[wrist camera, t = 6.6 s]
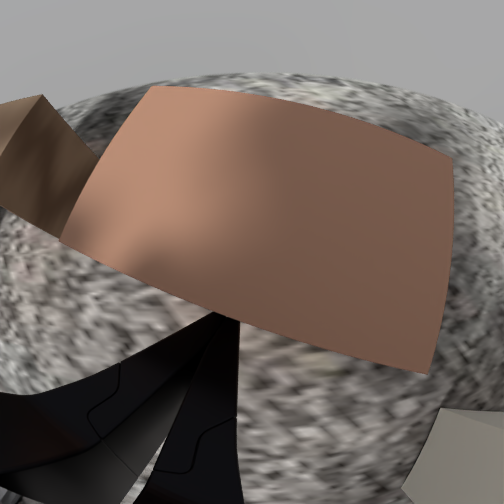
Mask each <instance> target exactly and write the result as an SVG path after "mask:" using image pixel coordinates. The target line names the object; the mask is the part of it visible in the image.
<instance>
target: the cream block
mask: <svg viewBox="0 0 504 504" xmlns="http://www.w3.org/2000/svg"><path fill="white" fill-rule="evenodd" d="M401 489H402V490H403V491H404V492H405V494H406V495H407V496H408V497H409V498H410V499H411V500H412V502H413V503H414V504H504V412H493V411H472V410H459V409H448V408H440V410H439V413H438V415H437V418H436V420H435V423H434V425H433V427H432V430H431V432H430V434H429V436H428V439H427V441H426V443H425V445H424V447H423V449H422V451H421V453H420V455H419V457H418V459H417V461H416V463H415V465H414V466H413V468H412V470H411V472H410V474H409V475H408V477H407V479H406V480H405V482H404V484H403V485H402V487H401Z"/></svg>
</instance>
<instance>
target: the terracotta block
mask: <svg viewBox="0 0 504 504" xmlns="http://www.w3.org/2000/svg"><path fill="white" fill-rule="evenodd" d="M453 230H454V178H453V162H452V158H451V157H449V156H447V155H445V154H443V153H441V152H438V151H436V150H434V149H432V148H430V147H428V146H426V145H423V144H421V143H419V142H416V141H414V140H412V139H409V138H407V137H405V136H402V135H400V134H397V133H395V132H392V131H389V130H387V129H384V128H381V127H379V126H376V125H373V124H370V123H367V122H364V121H361V120H358V119H355V118H352V117H349V116H345V115H342V114H338V113H335V112H331V111H328V110H324V109H320V108H317V107H313V106H308V105H304V104H300V103H296V102H291V101H286V100H281V99H276V98H271V97H266V96H260V95H254V94H247V93H240V92H233V91H225V90H216V89H205V88H192V87H174V86H151V88H150V89H149V90H148V91H147V93H146V94H145V95H144V96H143V98H142V99H141V100H140V101H139V103H138V104H137V105H136V107H135V108H134V109H133V111H132V112H131V113H130V115H129V116H128V118H127V119H126V120H125V122H124V123H123V125H122V126H121V128H120V129H119V130H118V132H117V133H116V135H115V136H114V138H113V139H112V141H111V142H110V144H109V146H108V147H107V149H106V150H105V152H104V154H103V155H102V157H101V158H100V160H99V162H98V163H97V165H96V167H95V169H94V170H93V172H92V174H91V176H90V177H89V179H88V181H87V183H86V185H85V186H84V188H83V190H82V192H81V194H80V196H79V198H78V200H77V202H76V204H75V206H74V208H73V210H72V212H71V214H70V216H69V218H68V221H67V223H66V225H65V227H64V229H63V232H62V234H61V236H60V239H59V242H61V243H63V244H65V245H67V246H69V247H71V248H73V249H74V250H76V251H78V252H80V253H82V254H84V255H86V256H88V257H90V258H92V259H94V260H96V261H98V262H100V263H103V264H105V265H107V266H109V267H111V268H113V269H115V270H117V271H119V272H122V273H124V274H126V275H128V276H130V277H132V278H135V279H137V280H139V281H141V282H144V283H146V284H148V285H150V286H153V287H155V288H157V289H160V290H162V291H164V292H167V293H169V294H172V295H174V296H176V297H179V298H181V299H184V300H186V301H189V302H191V303H194V304H196V305H199V306H201V307H204V308H206V309H209V310H211V311H214V312H217V313H219V314H222V315H225V316H227V317H230V318H233V319H235V320H238V321H241V322H244V323H247V324H249V325H252V326H255V327H258V328H261V329H264V330H267V331H270V332H273V333H276V334H279V335H282V336H285V337H288V338H291V339H294V340H297V341H300V342H303V343H307V344H310V345H313V346H317V347H320V348H323V349H327V350H330V351H334V352H337V353H341V354H344V355H348V356H351V357H355V358H359V359H363V360H367V361H370V362H374V363H378V364H382V365H387V366H391V367H395V368H399V369H404V370H408V371H413V372H417V373H422V374H427V375H428V372H429V369H430V365H431V362H432V358H433V355H434V351H435V348H436V344H437V340H438V336H439V331H440V327H441V322H442V318H443V313H444V308H445V302H446V296H447V290H448V283H449V276H450V267H451V258H452V246H453Z"/></svg>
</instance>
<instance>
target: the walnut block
mask: <svg viewBox="0 0 504 504" xmlns="http://www.w3.org/2000/svg"><path fill="white" fill-rule="evenodd" d="M98 162H99V158H98V157H97V156H96V155H95V154H94V153H93V152H92V151H91V150H90V149H89V148H88V146H87V145H86V144H85V143H84V142H83V141H82V140H81V139H80V137H79V136H78V135H77V134H76V133H75V132H74V131H73V130H72V128H71V127H70V126H69V125H68V124H67V123H66V122H65V120H64V119H63V118H62V117H61V116H60V115H59V113H58V112H57V111H56V110H55V109H54V108H53V106H52V105H51V104H50V103H49V102H48V100H47V99H46V98H45V97H44V96H43V94H42V95H37V96H32V97H27V98H23V99H19V100H15V101H11V102H7V103H4V104H0V206H2V207H3V208H5V209H7V210H8V211H10V212H12V213H13V214H15V215H17V216H18V217H20V218H22V219H24V220H25V221H27V222H29V223H31V224H33V225H34V226H36V227H38V228H40V229H42V230H43V231H45V232H47V233H49V234H51V235H53V236H55V237H57V238H58V239H60V236H61V234H62V232H63V229H64V227H65V225H66V223H67V221H68V218H69V216H70V214H71V212H72V210H73V208H74V206H75V204H76V202H77V200H78V198H79V196H80V194H81V192H82V190H83V188H84V186H85V185H86V183H87V181H88V179H89V177H90V176H91V174H92V172H93V170H94V169H95V167H96V165H97V163H98Z"/></svg>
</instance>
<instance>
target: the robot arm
mask: <svg viewBox="0 0 504 504" xmlns="http://www.w3.org/2000/svg"><path fill="white" fill-rule="evenodd" d="M239 342H240V321H238V320H235V319H233V318H230V317H226V316H225V315H222V314H219V313H217V312H211V313H210V314H208V315H206V316H204V317H202V318H201V319H199V320H197V321H195V322H193V323H192V324H190V325H188V326H186V327H184V328H183V329H181V330H179V331H177V332H175V333H173V334H172V335H170V336H168V337H166V338H164V339H162V340H161V341H159V342H157V343H155V344H153V345H151V346H149V347H147V348H146V349H144V350H142V351H140V352H138V353H136V354H134V355H132V356H130V357H128V358H126V359H125V360H123V361H121V364H120V363H117V364H115V365H113V366H111V367H109V368H107V369H105V370H102V371H100V372H98V373H96V374H94V375H91V376H89V377H86V378H84V379H81V380H78V381H76V382H73V383H70V384H67V385H64V386H61V387H58V388H55V389H52V390H49V391H46V392H42V393H39V394H33V395H17V394H10V393H4V392H0V504H120V503H121V501H122V500H123V499H124V497H125V496H126V494H127V493H128V492H129V490H130V489H131V487H132V486H133V485H134V483H135V482H136V480H137V479H138V477H139V476H140V474H141V473H142V472H143V470H144V469H145V467H146V466H147V464H148V463H149V462H150V460H151V459H152V457H153V456H154V454H155V453H156V451H157V450H158V448H159V447H160V445H161V444H162V443H163V441H164V440H165V438H166V437H167V438H166V440H165V442H164V445H163V447H162V449H161V451H160V454H159V456H158V458H157V461H156V463H155V465H154V468H153V471H152V472H151V475H150V477H149V479H148V481H147V483H146V484H145V486H144V488H143V490H142V491H141V493H140V494H139V495H138V497H137V498H136V500H135V501H134V502H133V504H244V498H243V491H242V485H241V478H240V472H239V464H238V454H237V418H236V417H237V399H238V369H239Z"/></svg>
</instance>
